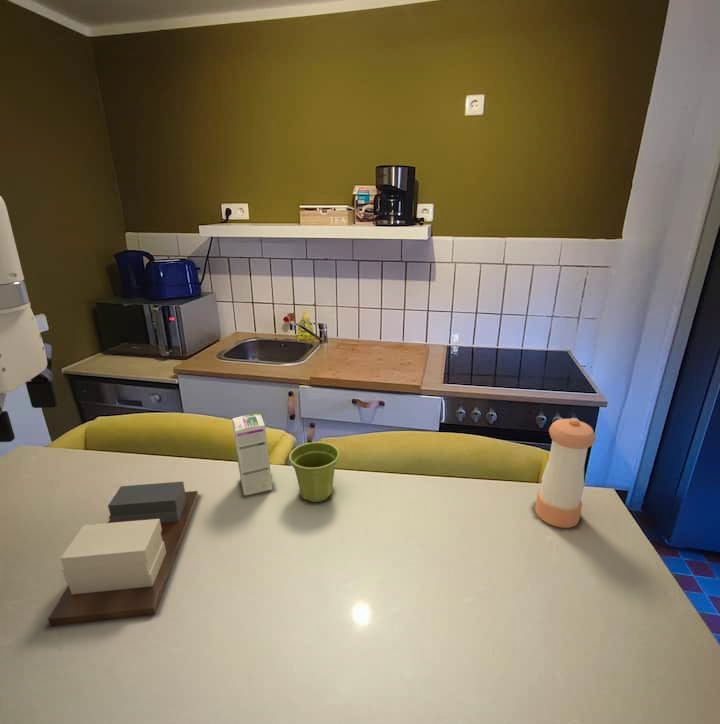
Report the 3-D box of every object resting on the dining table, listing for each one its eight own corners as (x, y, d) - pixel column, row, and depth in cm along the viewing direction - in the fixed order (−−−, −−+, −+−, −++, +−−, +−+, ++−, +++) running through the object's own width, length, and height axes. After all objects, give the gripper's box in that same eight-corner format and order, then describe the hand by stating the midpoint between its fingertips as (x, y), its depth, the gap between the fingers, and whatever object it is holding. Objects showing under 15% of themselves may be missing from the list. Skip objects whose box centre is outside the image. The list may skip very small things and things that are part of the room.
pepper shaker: (584, 530, 73) (606, 431, 67) (540, 525, 74) (557, 428, 68) (571, 502, 80) (590, 410, 73) (531, 499, 81) (545, 408, 74)
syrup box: (273, 489, 85) (267, 424, 79) (242, 497, 83) (234, 430, 77) (268, 474, 90) (261, 411, 84) (239, 480, 88) (231, 417, 82)
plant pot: (287, 484, 86) (284, 446, 83) (332, 474, 89) (330, 438, 86) (298, 513, 78) (295, 472, 75) (346, 501, 81) (345, 462, 78)
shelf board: (49, 625, 57) (47, 619, 57) (125, 501, 81) (124, 496, 81) (155, 614, 59) (153, 607, 58) (198, 495, 83) (197, 490, 83)
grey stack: (111, 527, 73) (105, 505, 71) (124, 507, 78) (118, 486, 76) (179, 522, 74) (174, 500, 73) (187, 502, 79) (183, 481, 78)
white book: (64, 570, 59) (60, 558, 58) (86, 536, 65) (83, 525, 64) (147, 562, 60) (144, 550, 59) (162, 529, 66) (159, 518, 66)
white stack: (70, 594, 60) (62, 571, 59) (91, 559, 67) (85, 536, 65) (152, 586, 62) (147, 562, 60) (166, 552, 68) (161, 530, 66)
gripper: (3, 285, 60) (32, 397, 66) (-110, 313, 43) (-57, 458, 49) (60, 285, 60) (84, 395, 66) (-29, 313, 44) (13, 456, 50)
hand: (24, 422), depth 58 cm, fingers open, 9 cm apart
